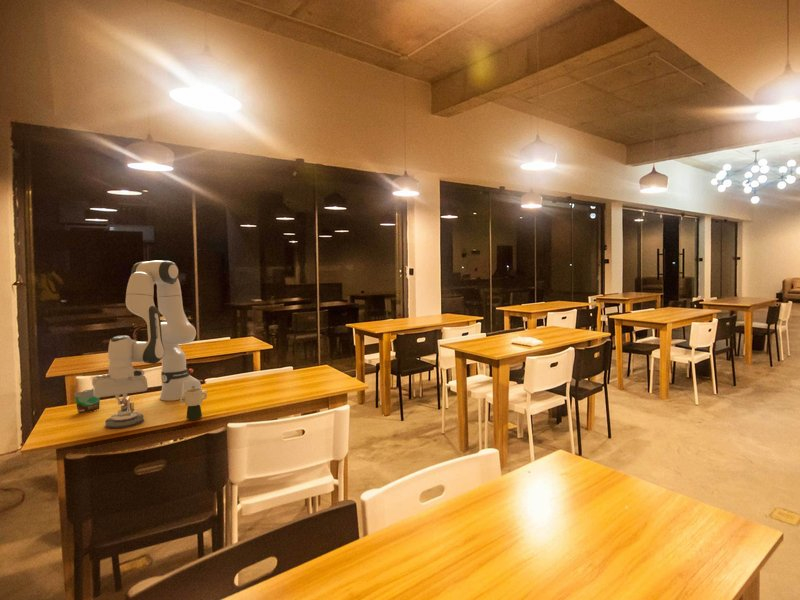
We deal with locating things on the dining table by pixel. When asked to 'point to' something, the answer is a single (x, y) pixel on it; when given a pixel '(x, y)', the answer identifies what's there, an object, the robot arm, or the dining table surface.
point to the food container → (86, 401)
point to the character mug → (193, 402)
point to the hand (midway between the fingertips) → (121, 404)
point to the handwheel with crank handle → (125, 424)
